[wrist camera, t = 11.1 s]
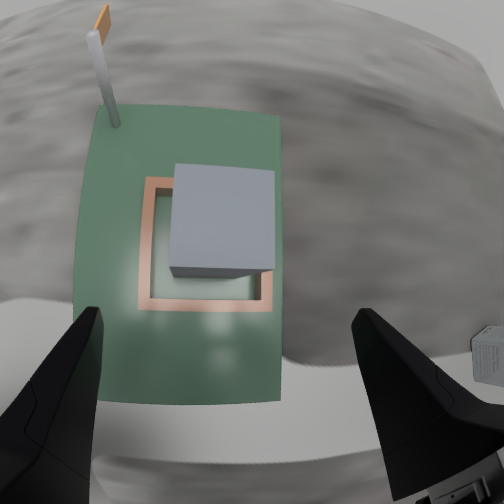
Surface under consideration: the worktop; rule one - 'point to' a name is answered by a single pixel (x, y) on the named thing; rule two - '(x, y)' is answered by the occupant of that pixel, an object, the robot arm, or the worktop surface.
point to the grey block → (222, 222)
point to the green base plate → (157, 256)
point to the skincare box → (489, 356)
